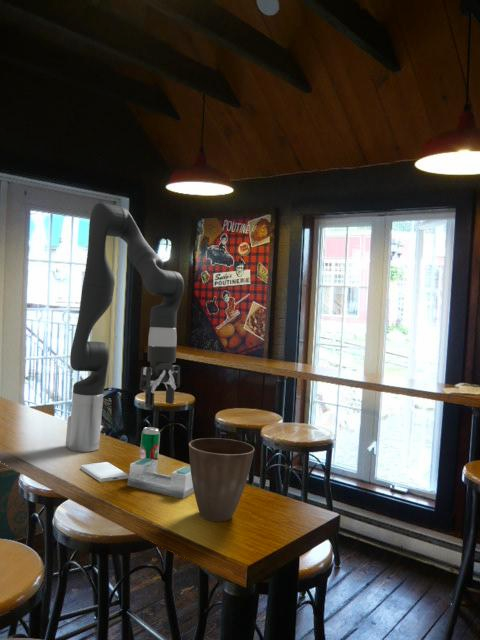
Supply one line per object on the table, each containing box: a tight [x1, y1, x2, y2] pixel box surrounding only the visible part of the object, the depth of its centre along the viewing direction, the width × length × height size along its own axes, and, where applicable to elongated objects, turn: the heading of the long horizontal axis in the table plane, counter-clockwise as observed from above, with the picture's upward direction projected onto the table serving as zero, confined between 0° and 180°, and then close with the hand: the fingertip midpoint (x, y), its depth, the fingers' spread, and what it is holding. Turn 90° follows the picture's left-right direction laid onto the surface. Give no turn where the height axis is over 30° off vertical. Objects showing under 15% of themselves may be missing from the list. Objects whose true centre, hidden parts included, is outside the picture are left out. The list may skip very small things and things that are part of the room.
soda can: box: [138, 426, 161, 461], centre depth 152 cm, size 5×5×12 cm
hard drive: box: [80, 461, 129, 483], centre depth 147 cm, size 2×8×12 cm
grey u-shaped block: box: [127, 458, 194, 500], centre depth 140 cm, size 16×8×6 cm, turn 68°
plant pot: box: [188, 437, 255, 522], centre depth 124 cm, size 15×15×16 cm
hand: (159, 405), depth 146 cm, fingers open, 8 cm apart
